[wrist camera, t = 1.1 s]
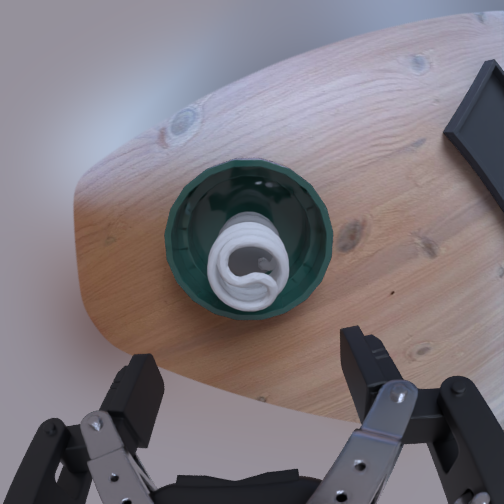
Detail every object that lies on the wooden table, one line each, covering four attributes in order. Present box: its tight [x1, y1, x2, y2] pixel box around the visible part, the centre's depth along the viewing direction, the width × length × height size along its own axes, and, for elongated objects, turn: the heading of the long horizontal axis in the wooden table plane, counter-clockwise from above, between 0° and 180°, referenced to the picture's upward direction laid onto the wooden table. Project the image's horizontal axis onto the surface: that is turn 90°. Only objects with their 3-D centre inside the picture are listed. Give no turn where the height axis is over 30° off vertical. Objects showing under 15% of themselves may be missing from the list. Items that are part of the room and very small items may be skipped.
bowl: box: [164, 158, 333, 320], centre depth 28 cm, size 14×14×5 cm
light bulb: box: [207, 212, 289, 311], centre depth 25 cm, size 6×6×12 cm
